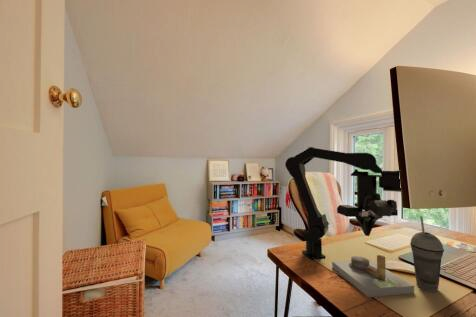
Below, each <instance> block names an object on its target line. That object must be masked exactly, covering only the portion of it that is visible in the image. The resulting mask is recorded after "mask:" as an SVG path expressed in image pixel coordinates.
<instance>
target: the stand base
mask: <svg viewBox="0 0 476 317" xmlns="http://www.w3.org/2000/svg"><path fill="white" fill-rule="evenodd" d="M367 259H368V258H367ZM368 260H369V265H370V266H372V267H374V268H376V269H377V262H374V261H373V260H371V259H368ZM331 264H332V265H331V266H332V267H333V268H332V269H334V270H335V271H336V272H337V271H338V272H339V273H338V272H337V273H338V274H339V275H340V276H342V277H343V278H344V279H345V280H347V281H348V282H349V283H350V284H352V285H353V286H354V287H355V288H356V289H358V290H359V291H360V292H361V293H362V294H363V295H365V296H366V297H367V298H375V297H377V298H378V297H387V296H397V295H398V296H399V295H411V294H415V285H413V284H412V283H410V282H408V281H407V280H405V279H404V278H402V277H400V276H398V275H397V274H395V273H393V272H391V271H389V270H388V269H387V268H385V274H386V279H385V280H382V279H379V278H377V277H376V276H374V275H372V274H370V273H368V272H366V271H365V270H359V269H356V268H354V267H353V266H352V265H351V260H337V261H335V260H334V261H332V263H331Z"/></svg>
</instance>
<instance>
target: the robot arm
mask: <svg viewBox="0 0 476 317" xmlns="http://www.w3.org/2000/svg"><path fill="white" fill-rule="evenodd" d="M315 158H317V159H322V160H328V161H332V162H338V163H344V164H346V165H349V166H351V167H354V168H357V169H354V171H353V172H352V173H351V174H350V176H351V177H356V191H354V195H356V202H355V203H354V206H352V205H351V204H340V205H338V206H337V208H336V214H339V215H342V216H345V217H348V218H353V217H355V220H356V221H357V222H358V224H359V225H360V228H361V231H362V232H363V234H364V236H366V237H369V236H370V235H371V232H372V231H373V228H374V225H375V224H376V222H377V221H379V220H380V219H383V218H384V217H389V218H390V217H391V216H392V217H394V216H395V217H396V216H397V217H398V212H399V211H398V205H397V201H396V200H394V199H386V200H383V199H381V194H380V193H378V192H377V191H378V190H377V189H378V188H377V185H378V187H379V188H380V189H382V191H384V192H396V193H397V192H399V193H402V192H401V188H400V179H399V171H400V170H383V169H382V167H380V166H379V165H378V164H377V159H376V157H375V156H374V155H373V154H372V153H370V152H344V151H343V152H342V151H336V150H330V149H322V148H318V147H317V148H316V147H313V146H309V147H307V148H306V149H305V150H304V151H302V152H300V153H298V154H296V155H294V156H290V157H289V158H286V161H285V162H284V163H285V169H286V170H287V172H288V173H289V175H290V176H291V177H292V178H293V180H294V182H295V185H296V187H297V189H298V193H299V195H300V198H301V201H302V204H303V206H304V209H305V212H306V216H307V227H308V230H307V231H306V232H305V233H303V234H302V237H303V238H302V239H303V241H305V249H304V250H302V251H301V252H302V253H303V254H304V255H305V256H306V257H307V258H308V259H326V255H324V254H323V252H322V251H323V250H322V249H323V246H322V245H323V244H322V238H324V236H325V235H326V234H327V233H328V231H329V225H330V223H329V221H328V219H327V216H326V214H325V213H324V214H322V213H321V212H320V210H319V209H318V207H317V204H316V201H315V197H314V196H313V193H312V190H311V188H310V185H309V183H308V180H307V177H306V166H305V165H307V164H308V163H310V162H311V161H312V160H313V159H315ZM358 169H361V170H363V171H359V170H358ZM368 170H369V171H371V172H373V173H374V174H369V171H368ZM377 178H378V181H377ZM377 182H378V184H377Z"/></svg>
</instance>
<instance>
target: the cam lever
mask: <svg viewBox="0 0 476 317" xmlns="http://www.w3.org/2000/svg"><path fill="white" fill-rule="evenodd" d="M350 259H351V265H352V266H353V267H354V268H356V269H359V270H365V271H366V272H368V273H370V274H372V275H374V276H376V277H377V278H379V279H382V280H385V279H386V274H385V269H386V257H385V256H384V255H379V254H376V264H377V269H376V268H374V267H372V266H370V265H369V260H368V258H366V257H363V256H359V255H353V256H351V257H350Z"/></svg>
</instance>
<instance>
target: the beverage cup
mask: <svg viewBox="0 0 476 317" xmlns="http://www.w3.org/2000/svg"><path fill="white" fill-rule="evenodd" d="M419 218H420V224H421V231H419V232H416V233H414V234H413V236H412V237H411V239H410V242H409V245H410V250H411V252H412V258H413V266H414V267H413V268H414V274H415V281H416V286H417V285H418V286H419V287H418V286H417V287H418V288H420V289H421V288H422V290H424V291H427V292H431V293H437V292H438V291H439V285H440V276H441V264H442V259H443V255H444V251H445V249H444V246H443V243H442V241H441V240H440V239H439V238H438V237H437V236H436V235H434V234H432V233H430V232H428V231H427V232H426V231H425V224H424V218H423V216H420V217H419Z"/></svg>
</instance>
